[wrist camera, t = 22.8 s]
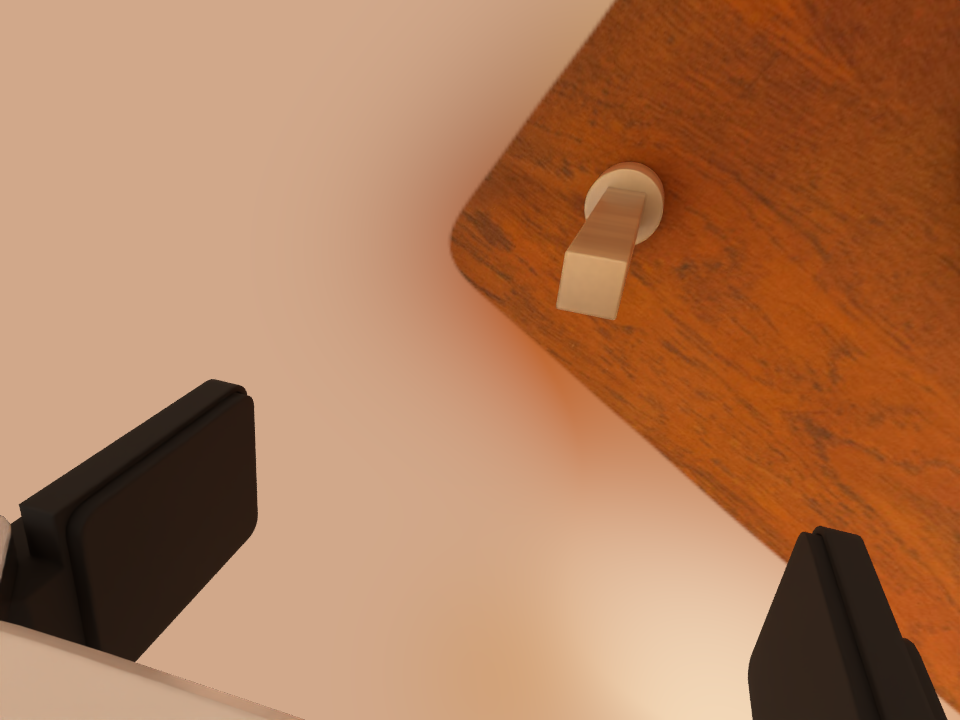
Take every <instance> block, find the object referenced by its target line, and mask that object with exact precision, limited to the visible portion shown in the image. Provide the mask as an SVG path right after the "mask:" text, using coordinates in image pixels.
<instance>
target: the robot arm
mask: <svg viewBox="0 0 960 720" xmlns="http://www.w3.org/2000/svg"><path fill="white" fill-rule="evenodd" d="M256 481H257V480H256V452H255V422H254V403H253V399H252V398H251V397H250V396H247V392H246V390H245V388H244V387H242V386H240V385H236V384H232V383H227V382H223V381H219V380H215V379H211V380H208V381H206V382H205V383H203V384H202V385H200V386H198V387H197V388H195V389H194V390H192V391H191V392H189V393H188V394H186V395H185V396H183V397H182V398H180V399H179V400H177V401H176V402H174V403H173V404H171V405H170V406H168V407H167V408H165V409H163V410H162V411H160V412H159V413H158V414H156V415H154V416H153V417H151V418H150V419H148V420H147V421H145V422H144V423H142V424H141V425H139V426H138V427H136V428H135V429H133V430H132V431H130V432H128V433H127V434H125V435H124V436H122V437H121V438H119V439H118V440H116V441H115V442H113V443H112V444H110V445H109V446H107V447H106V448H104V449H103V450H101V451H100V452H98V453H97V454H95V455H93V456H92V457H90V458H89V459H87V460H86V461H84V462H83V463H81V464H80V465H78V466H77V467H75V468H74V469H72V470H71V471H69V472H68V473H66V474H65V475H63V476H62V477H60V478H58V479H57V480H55V481H54V482H52V483H51V484H50V485H48V486H46V487H45V488H43V489H42V490H40V491H39V492H37V493H36V494H34V495H33V496H31V497H30V498H28V499H27V500H25V501H24V502H22V503H21V504H19V507H20V511H21V516H22V517H20V518H19V519H17V520H16V521H14V522H13V523H12V524H10V523H9V522H8V521H7V520H6V518H5V517H4V516H1V515H0V720H304V719H301V718H298V717H295V716H293V715H290V714H287V713H284V712H280V711H278V710H275V709H272V708H269V707H266V706H263V705H260V704H257V703H254V702H251V701H249V700H245V699H243V698H240V697H237V696H233V695H231V694H228V693H225V692H221V691H219V690H216V689H213V688H210V687H207V686H204V685H201V684H198V683H195V682H192V681H189V680H186V679H183V678H180V677H177V676H174V675H171V674H168V673H165V672H162V671H159V670H156V669H153V668H150V667H147V666H144V665H141V664H138V663H135V661H137V659H138V658H139V657H140V656H141V655H142V654H143V653H144V652H145V651H146V650H147V649H148V647H149V646H150V645H151V644H152V643H153V642H154V641H155V640H156V639H157V638H158V637H159V635H160V634H161V633H162V632H163V631H164V630H165V629H166V628H167V627H168V626H169V625H170V623H171V622H172V621H173V620H174V619H175V618H176V617H177V616H178V614H180V613H181V611H182V610H183V609H184V608H185V607H186V606H187V605H188V604H189V603H190V602H191V601H192V599H193V598H194V597H195V596H196V595H197V594H198V593H199V592H200V591H201V589H203V587H204V586H205V585H206V584H207V583H208V582H209V581H210V580H211V578H213V576H214V575H215V574H216V573H217V572H218V571H219V570H220V569H221V568H222V567H223V565H225V563H226V562H227V561H228V560H229V559H230V558H231V557H232V556H233V555H234V554H235V553H236V551H237V550H238V549H239V548H240V547H241V546H242V545H243V544H244V543H245V542H246V541H247V539H248V538H249V537H250V536H251V534H252V533H253V531H254V529H255V527H256V523H257V518H258V512H257V511H258V508H257V483H256ZM748 684H749V693H750V701H751V709H752V717H753V720H947V718H946V715H945V713H944V711H943V708H942V706H941V703H940V701H939V699H938V696H937V694H936V692H935V689H934V687H933V684H932V682H931V680H930V677H929V675H928V673H927V670H926V668H925V665H924V663H923V661H922V658H921V656H920V654H919V652H918V650H917V648H916V647H915V645H914V644H913V643H912V642H911V641H909V640H908V639H906V638H902V636H901V633H900V631H899V628H898V626H897V623H896V621H895V618H894V616H893V613H892V611H891V608H890V606H889V604H888V601H887V599H886V596H885V594H884V591H883V589H882V586H881V584H880V581H879V579H878V576H877V574H876V571H875V569H874V566H873V564H872V561H871V559H870V556H869V554H868V552H867V549H866V547H865V544H864V542H863V540H862V538H861V537H860V536H858V535H856V534H851V533H847V532H843V531H839V530H835V529H831V528H827V527H822V526H818V527H816V528H815V530H814V531H813V533H812V534H811V533H807V532H802V533H801V534H800V535H799V537H798V539H797V541H796V544H795V546H794V549H793V551H792V554H791V556H790V559H789V562H788V564H787V567H786V569H785V572H784V574H783V577H782V579H781V582H780V584H779V587H778V589H777V592H776V594H775V597H774V600H773V602H772V604H771V607H770V610H769V612H768V615H767V617H766V620H765V622H764V625H763V627H762V630H761V632H760V635H759V637H758V640H757V642H756V645H755V647H754V650H753V652H752V655H751V658H750V663H749V669H748Z"/></svg>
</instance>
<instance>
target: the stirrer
mask: <svg viewBox="0 0 960 720" xmlns="http://www.w3.org/2000/svg"><path fill="white" fill-rule="evenodd" d="M663 208H664V189H663V185H662V183H661V180H660V179H659V177H658V176H657V174H656V173H655V172H654V171H653V170H652V169H650V168H649V167H647V166H645V165H643V164H640V163H637V162H622V163H618V164H615V165H613V166H611V167H609V168H608V169H606V170H605V171H604V172H603V173H602V174H601V175H600V176H599V177H598V179H597V180H596V181H595V182H594V184H593V185H592V186H591V188H590V190H589V191H588V194H587V196H586V200H585V205H584V214H585V219H586V221H585V223H584V225H583V226H582V228H581V229H580V231H579V232H578V234H577V235H576V237H575V238H574V240H573V242H572V243H571V245H570V246H569V248H568V249H567V251H566V252H565V257H564V263H563V269H562V274H561V280H560V286H559V292H558V298H557V303H556V308H557V309H560V310H565V311H570V312H575V313H580V314H585V315H590V316H595V317H600V318H605V319H610V320H615V319H616V317H617V313H618V309H619V305H620V302H621V298H622V294H623V290H624V286H625V282H626V278H627V274H628V270H629V266H630V262H631V258H632V255H633V251H634V247H635V245H637V244H639V243H641V242H643V241H645V240H646V239H647V238H649V237H650V236H651V235H652V234H653V233H654V232H655V230H656V229H657V227H658V226H659V224H660V221H661V218H662V215H663Z"/></svg>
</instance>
